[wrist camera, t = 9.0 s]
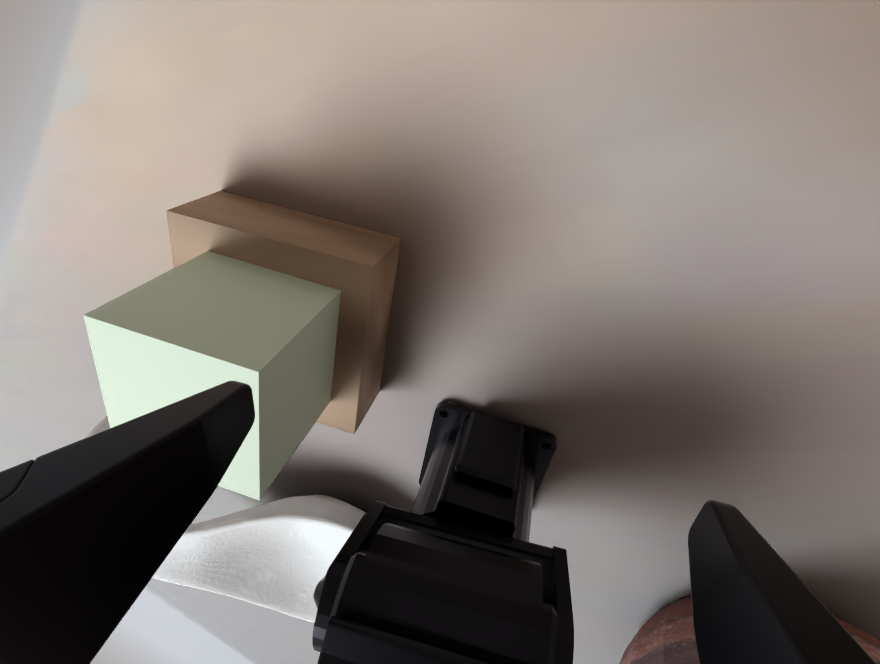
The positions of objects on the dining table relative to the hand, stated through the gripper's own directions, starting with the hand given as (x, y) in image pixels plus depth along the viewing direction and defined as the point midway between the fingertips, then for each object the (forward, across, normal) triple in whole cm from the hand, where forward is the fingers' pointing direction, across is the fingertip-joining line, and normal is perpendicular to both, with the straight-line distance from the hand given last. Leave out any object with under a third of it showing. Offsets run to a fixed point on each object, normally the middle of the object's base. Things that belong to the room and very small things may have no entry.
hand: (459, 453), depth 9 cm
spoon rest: (+13, +14, +22) cm, 29 cm away
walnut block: (+13, +10, +5) cm, 17 cm away
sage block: (+9, +10, +5) cm, 14 cm away
